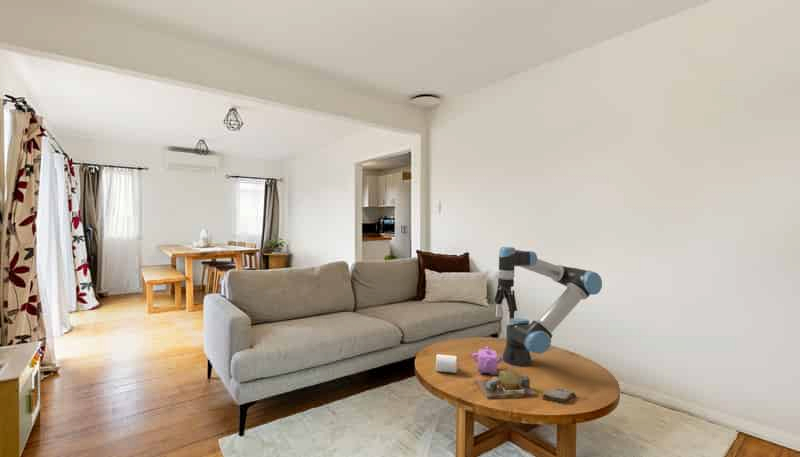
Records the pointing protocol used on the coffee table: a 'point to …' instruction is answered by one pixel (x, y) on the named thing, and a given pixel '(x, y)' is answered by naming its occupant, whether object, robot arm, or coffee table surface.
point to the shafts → (493, 383)
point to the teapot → (487, 361)
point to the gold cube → (508, 380)
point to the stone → (558, 395)
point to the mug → (446, 363)
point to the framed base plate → (504, 391)
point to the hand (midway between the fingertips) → (504, 320)
